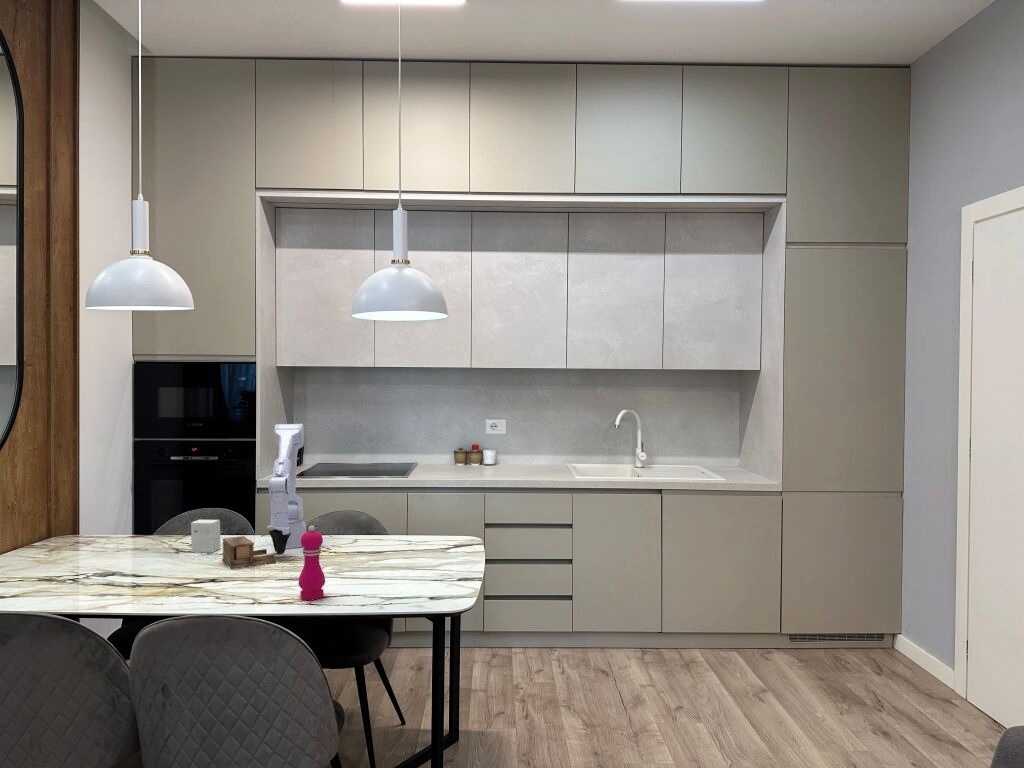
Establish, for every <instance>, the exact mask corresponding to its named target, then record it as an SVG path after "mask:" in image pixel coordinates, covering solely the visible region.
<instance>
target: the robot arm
mask: <svg viewBox="0 0 1024 768" xmlns="http://www.w3.org/2000/svg"><path fill="white" fill-rule="evenodd" d="M273 436H274V437H273V438H274V440H275V443H276V445H277V447H278V458H276V459H275V460H274V462H273V467H272V475H271V478H269V480H268V483H267V487H268V492H269V499H270V524H269V525H267V526H266V528H267V529H272V530H268V533H269V535H270V537H271V539H272V540H271V541H272V545H273V549H274V553H276V546H277V552H278V554H279V553H283V554H284V553H285V551H286V550H287V549H288V548H289V549H294V548H295V547H296V548H302V547H301V546H302V545H301V537H302V535H303V534H304V533H306V532H307V525H306V521H304V520H303V517H304V500H303V498H302V497H300V496H299V495H297V494H296V492H297V491H296V489H297V486H296V485H297V466H298V465H297V463H298V460H297V459H298V452H299V450H300V449H301V448H303V447H304V444H305V442H304V441H305V426H304V424H303V423H292V424H291V423H287V424H285V423H284V424H283V423H280V424H279V423H276V424H275V425H274V430H273ZM296 548H295V549H296Z"/></svg>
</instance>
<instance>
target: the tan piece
mask: <svg viewBox="0 0 1024 768" xmlns="http://www.w3.org/2000/svg"><path fill="white" fill-rule="evenodd" d="M273 554H274V555H275V556H284V553H279V554H278V552H277V546H276V552H272V553H267V554H263V555H256V556H254V557H258V556H265V555H273ZM243 558H250V545H247V546H239V547H234V560H236V559H243Z"/></svg>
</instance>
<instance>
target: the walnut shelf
mask: <svg viewBox="0 0 1024 768" xmlns="http://www.w3.org/2000/svg"><path fill="white" fill-rule="evenodd" d="M247 545H250V558H243V559H236V560H234V547H239V546H247ZM254 545H255V542H254V541H252V540H251V539H249V538H247V537H246V536H245V535H242V536H241V535H240V536H235V537H234V536H232V537H227V538H226V537H225V538H222V561H223V562H224V564H225V565H226V566H227V565H228V566H229V567H230V569H231V570H234V569H233V568H238V569H242V568H241V567H245V568H250V567H249V566H252V567H256V566H257V565H259V566H265V564H266V565H272V563H273V564H276V562H277V560H276V555H274V554H273V555H265V556H258V557H254V556H256V555H263V554H268V553H267V552H268V550H267V549H266V548H263V549H255V550H254ZM223 562H222V563H223ZM228 566H227V567H228ZM229 567H228V568H229ZM257 567H258V566H257Z"/></svg>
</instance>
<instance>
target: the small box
mask: <svg viewBox="0 0 1024 768" xmlns="http://www.w3.org/2000/svg"><path fill="white" fill-rule="evenodd" d="M190 525H191V526H190V528H191V529H190V530H191V531H190V534H191V537H190V538H191V539H190V540H191V553H207V552H213V553H215V552H217V551H219V550H221V520H220V519H197V520H194V521H192V522H191V523H190ZM218 549H219V550H218ZM216 550H217V551H216ZM214 551H215V552H214Z"/></svg>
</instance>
